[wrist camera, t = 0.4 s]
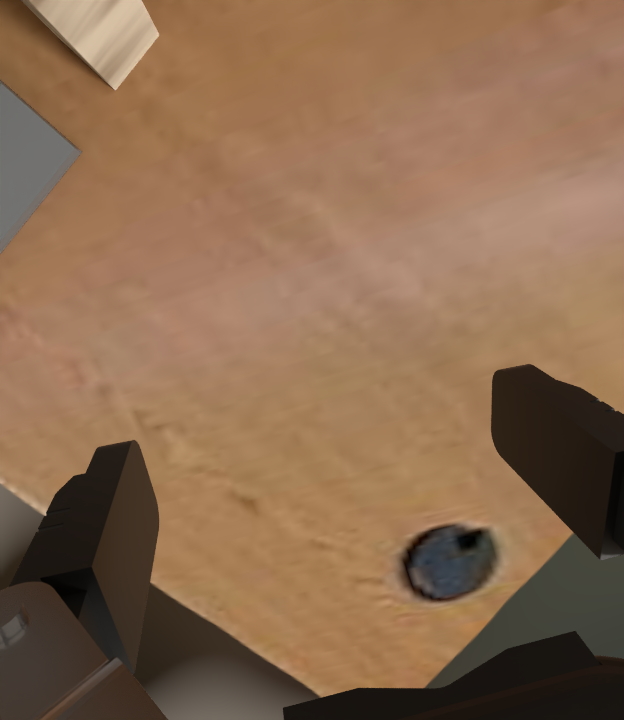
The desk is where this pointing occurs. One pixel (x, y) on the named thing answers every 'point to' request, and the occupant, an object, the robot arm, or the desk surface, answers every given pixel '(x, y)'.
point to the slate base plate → (27, 161)
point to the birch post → (100, 32)
